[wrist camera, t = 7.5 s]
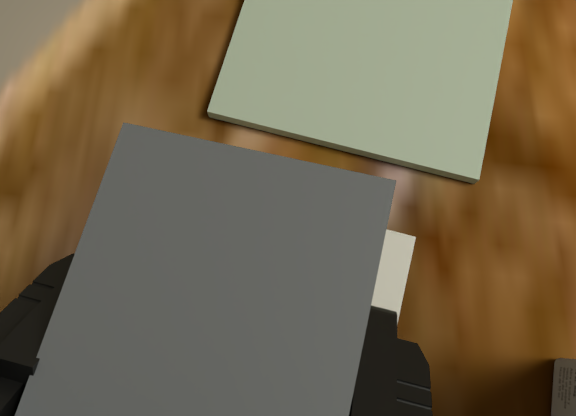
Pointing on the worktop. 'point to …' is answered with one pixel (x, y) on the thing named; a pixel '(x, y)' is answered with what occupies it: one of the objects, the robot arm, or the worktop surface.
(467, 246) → the worktop surface
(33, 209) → the worktop surface
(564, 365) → the coffee box
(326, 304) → the charcoal block
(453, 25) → the sage pad
